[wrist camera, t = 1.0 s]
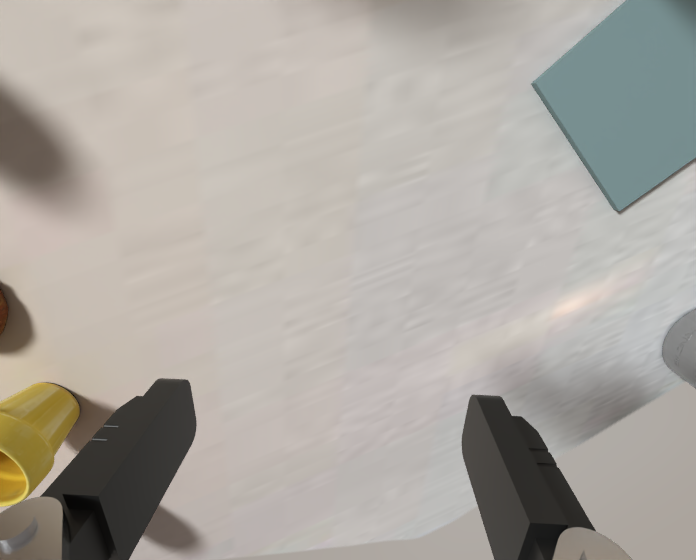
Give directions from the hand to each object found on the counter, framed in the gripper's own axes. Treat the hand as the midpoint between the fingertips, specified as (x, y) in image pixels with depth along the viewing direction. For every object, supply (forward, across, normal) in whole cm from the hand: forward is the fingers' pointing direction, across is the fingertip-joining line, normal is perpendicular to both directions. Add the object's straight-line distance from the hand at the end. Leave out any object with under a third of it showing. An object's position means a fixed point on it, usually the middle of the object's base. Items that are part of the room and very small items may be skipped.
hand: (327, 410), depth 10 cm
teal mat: (+26, -24, -11) cm, 37 cm away
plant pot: (+26, +36, +25) cm, 51 cm away
